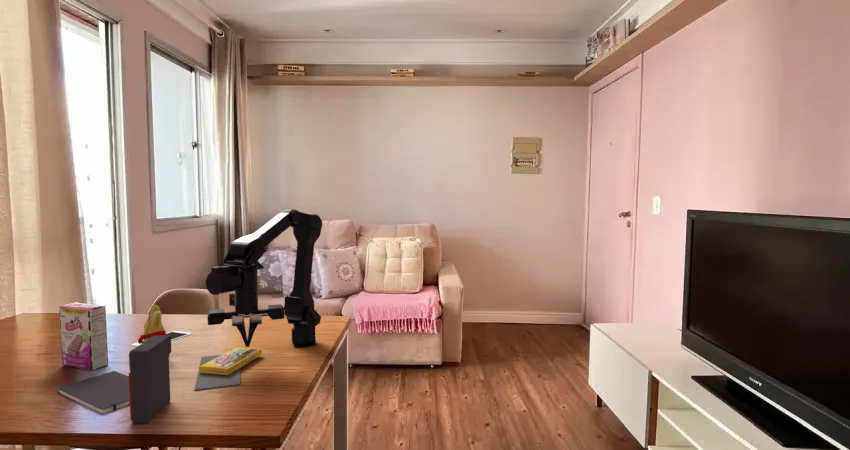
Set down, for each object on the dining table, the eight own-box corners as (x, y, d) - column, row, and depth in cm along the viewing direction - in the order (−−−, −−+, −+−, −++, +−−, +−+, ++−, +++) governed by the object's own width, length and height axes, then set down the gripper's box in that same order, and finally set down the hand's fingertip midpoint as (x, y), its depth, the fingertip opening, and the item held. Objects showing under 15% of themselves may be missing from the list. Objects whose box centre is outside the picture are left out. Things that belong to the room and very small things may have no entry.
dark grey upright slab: (153, 401, 110) (150, 335, 109) (173, 400, 110) (171, 334, 109) (128, 424, 99) (124, 351, 98) (150, 424, 99) (147, 351, 98)
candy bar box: (60, 366, 131) (57, 305, 130) (79, 360, 136) (76, 301, 135) (91, 371, 128) (88, 309, 126) (109, 365, 132) (106, 304, 131)
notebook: (162, 395, 115) (114, 376, 126) (161, 388, 114) (114, 370, 126) (102, 416, 104) (56, 394, 115) (102, 409, 104) (56, 387, 115)
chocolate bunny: (159, 351, 144) (158, 300, 143) (173, 360, 136) (171, 306, 135) (133, 357, 139) (131, 304, 138) (145, 366, 131) (143, 311, 130)
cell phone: (130, 346, 149) (130, 344, 149) (175, 332, 164) (175, 330, 164) (149, 349, 146) (149, 347, 146) (192, 334, 161) (192, 332, 161)
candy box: (227, 367, 123) (198, 366, 125) (228, 375, 124) (198, 374, 125) (261, 347, 139) (235, 347, 141) (262, 355, 139) (235, 354, 141)
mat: (239, 353, 142) (239, 352, 142) (240, 384, 119) (240, 383, 119) (201, 357, 138) (201, 356, 138) (194, 390, 116) (194, 389, 116)
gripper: (280, 280, 140) (281, 334, 141) (208, 284, 134) (210, 341, 135) (284, 287, 130) (285, 346, 131) (206, 292, 123) (208, 354, 124)
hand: (247, 346), depth 131 cm, fingers closed
